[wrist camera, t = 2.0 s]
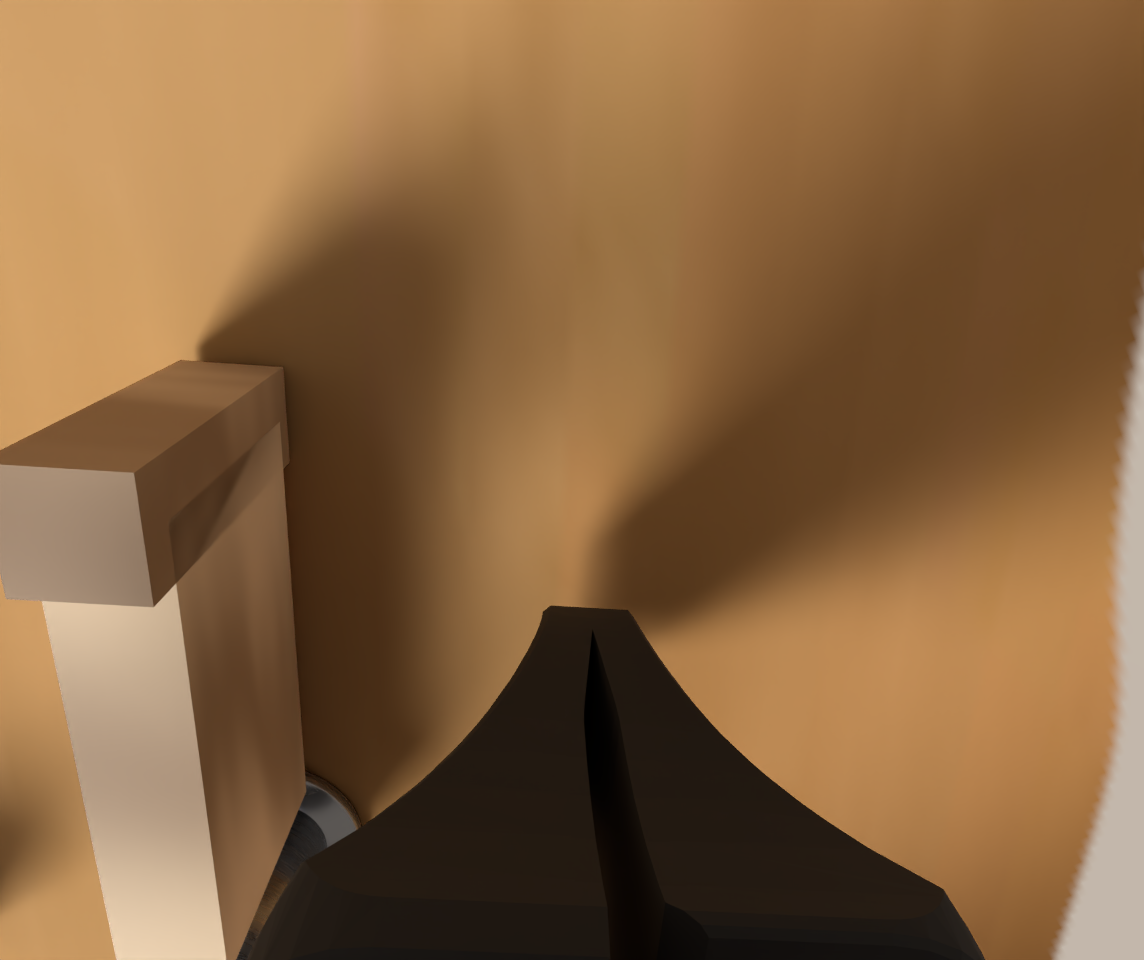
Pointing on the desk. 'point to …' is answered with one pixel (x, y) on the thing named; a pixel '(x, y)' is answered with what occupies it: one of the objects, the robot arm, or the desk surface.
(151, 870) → the light wooden bar
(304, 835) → the pivot post
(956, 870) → the desk surface
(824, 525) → the desk surface
